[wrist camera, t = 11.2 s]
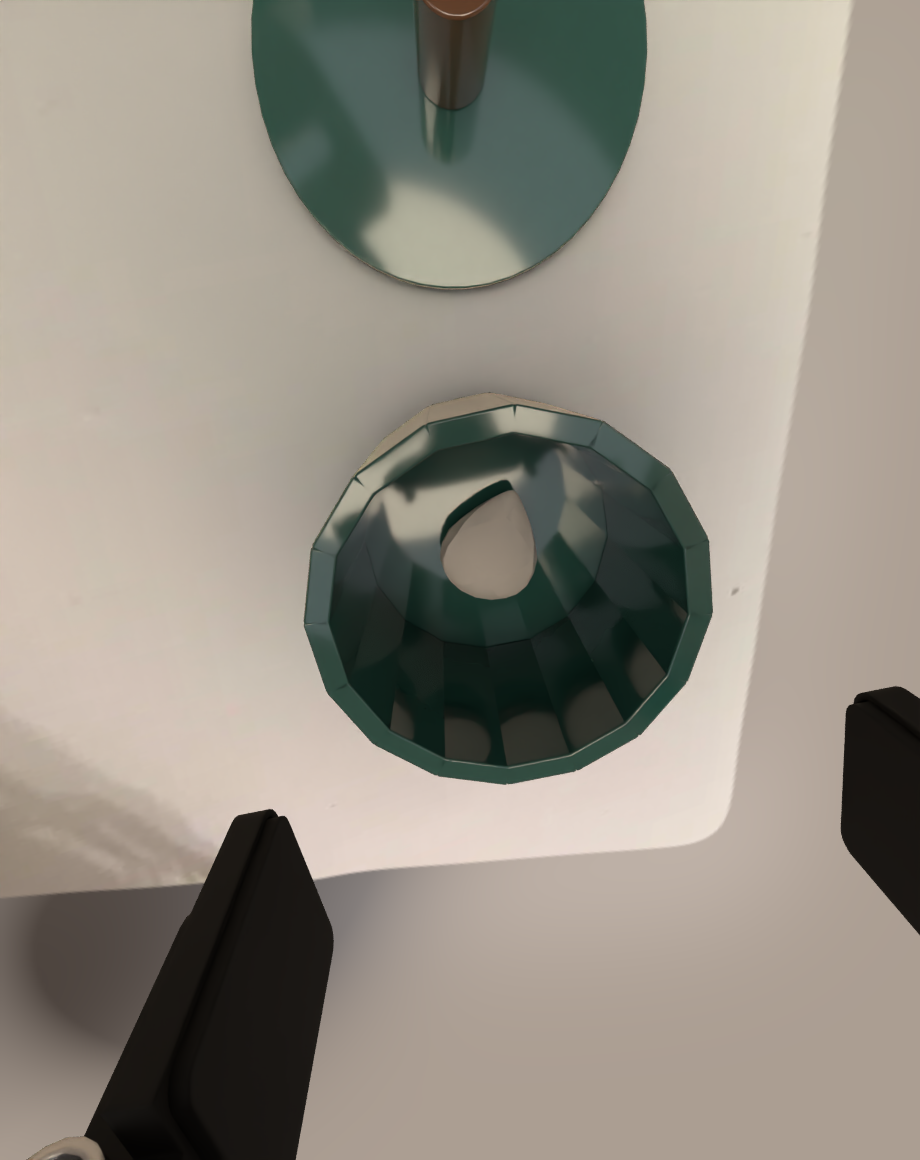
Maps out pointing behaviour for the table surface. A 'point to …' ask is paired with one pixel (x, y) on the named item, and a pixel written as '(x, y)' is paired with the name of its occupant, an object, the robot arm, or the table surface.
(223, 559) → the table surface
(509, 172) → the lid
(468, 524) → the beige teardrop wedge
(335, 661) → the canister
